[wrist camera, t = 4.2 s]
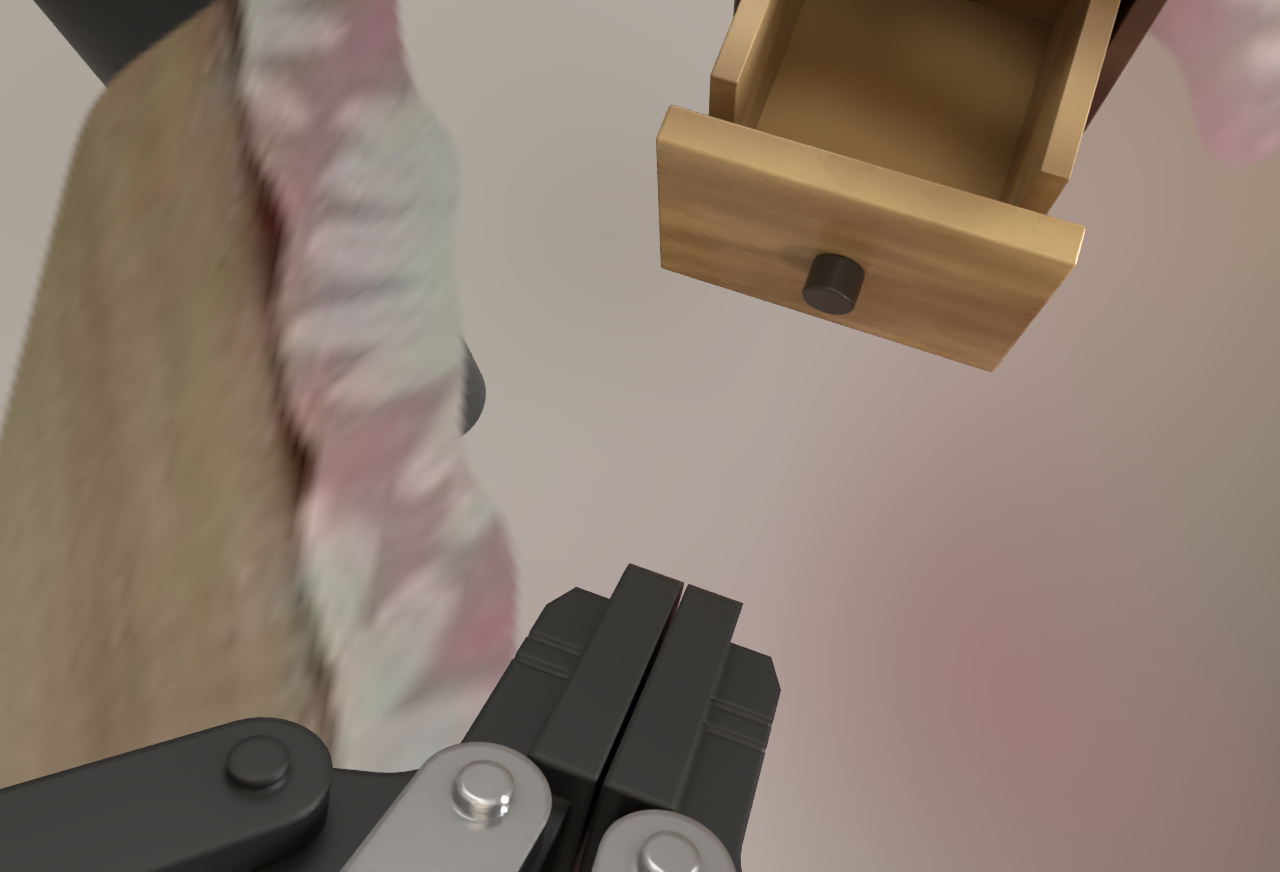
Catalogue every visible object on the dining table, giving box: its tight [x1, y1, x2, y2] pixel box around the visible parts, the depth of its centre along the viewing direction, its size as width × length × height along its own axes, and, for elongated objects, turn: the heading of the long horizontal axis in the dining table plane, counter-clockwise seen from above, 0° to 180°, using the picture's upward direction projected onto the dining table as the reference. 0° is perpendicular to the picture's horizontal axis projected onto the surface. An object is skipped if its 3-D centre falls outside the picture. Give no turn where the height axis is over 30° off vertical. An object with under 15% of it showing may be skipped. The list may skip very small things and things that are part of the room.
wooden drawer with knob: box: [656, 0, 1121, 372], centre depth 34 cm, size 15×11×8 cm
